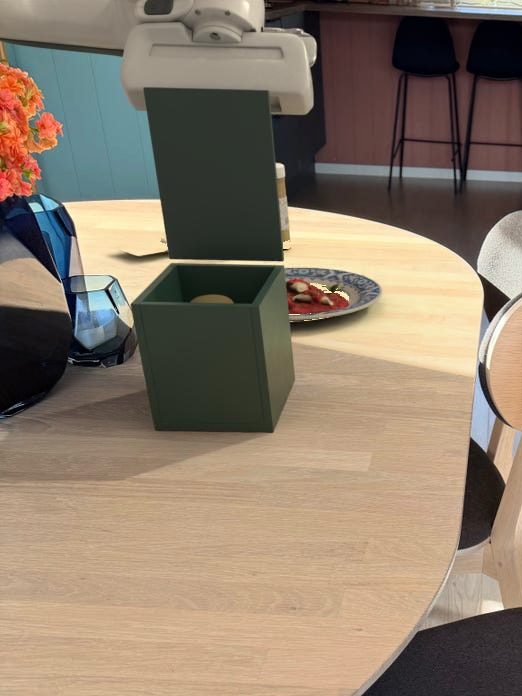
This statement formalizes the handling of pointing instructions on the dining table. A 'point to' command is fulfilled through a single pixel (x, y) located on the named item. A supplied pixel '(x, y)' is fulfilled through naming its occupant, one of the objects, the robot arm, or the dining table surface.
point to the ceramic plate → (327, 304)
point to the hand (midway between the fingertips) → (215, 141)
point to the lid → (216, 173)
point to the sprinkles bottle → (283, 202)
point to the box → (216, 347)
